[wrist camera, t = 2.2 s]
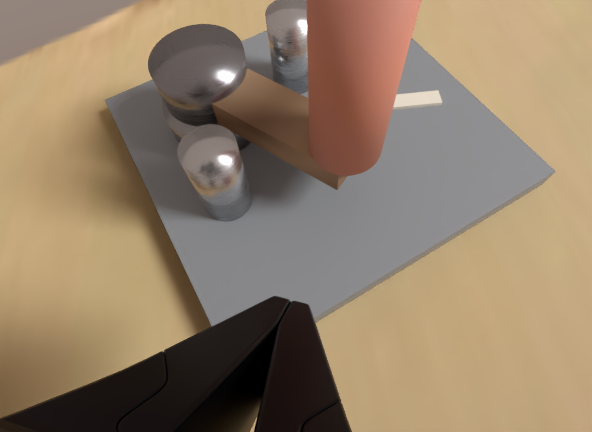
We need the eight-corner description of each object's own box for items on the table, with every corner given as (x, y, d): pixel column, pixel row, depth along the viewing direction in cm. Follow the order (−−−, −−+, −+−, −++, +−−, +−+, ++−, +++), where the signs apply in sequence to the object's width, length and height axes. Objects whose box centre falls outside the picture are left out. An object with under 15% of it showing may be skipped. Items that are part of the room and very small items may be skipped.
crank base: (236, 370, 17) (204, 355, 12) (114, 113, 24) (61, 36, 19) (542, 183, 20) (616, 112, 15) (358, 6, 27) (368, -82, 22)
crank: (146, 102, 19) (14, -139, 11) (203, 49, 21) (126, -199, 12) (346, 217, 16) (382, 0, 8) (396, 145, 18) (474, -104, 9)
